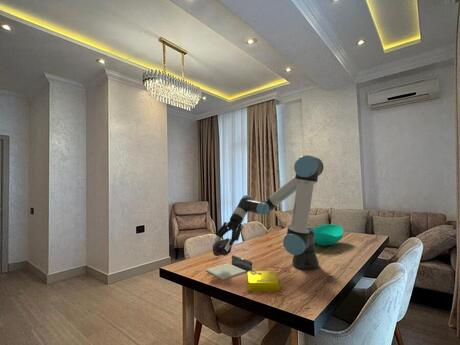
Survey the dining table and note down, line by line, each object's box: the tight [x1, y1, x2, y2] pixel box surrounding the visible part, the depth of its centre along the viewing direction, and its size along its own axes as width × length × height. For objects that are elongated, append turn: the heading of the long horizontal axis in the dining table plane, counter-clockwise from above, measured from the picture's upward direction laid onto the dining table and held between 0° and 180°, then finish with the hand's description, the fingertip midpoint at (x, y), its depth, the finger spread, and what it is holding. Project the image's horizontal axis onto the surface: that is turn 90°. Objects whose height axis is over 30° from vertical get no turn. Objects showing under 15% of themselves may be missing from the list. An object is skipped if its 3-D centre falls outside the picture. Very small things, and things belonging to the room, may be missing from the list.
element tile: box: [246, 270, 281, 292], centre depth 114 cm, size 15×15×5 cm
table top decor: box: [313, 223, 345, 247], centre depth 185 cm, size 40×28×13 cm
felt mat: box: [205, 262, 247, 281], centre depth 132 cm, size 17×16×1 cm
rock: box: [212, 237, 233, 257], centre depth 134 cm, size 12×9×10 cm
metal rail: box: [231, 255, 253, 272], centre depth 139 cm, size 17×2×5 cm, turn 37°
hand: (219, 248), depth 132 cm, fingers closed on rock, 9 cm apart
